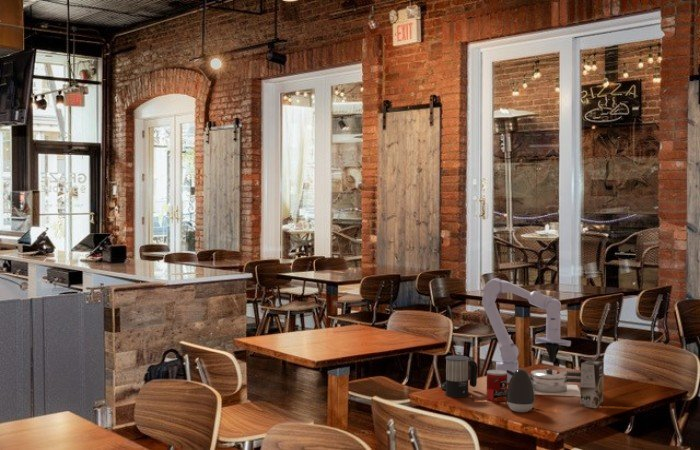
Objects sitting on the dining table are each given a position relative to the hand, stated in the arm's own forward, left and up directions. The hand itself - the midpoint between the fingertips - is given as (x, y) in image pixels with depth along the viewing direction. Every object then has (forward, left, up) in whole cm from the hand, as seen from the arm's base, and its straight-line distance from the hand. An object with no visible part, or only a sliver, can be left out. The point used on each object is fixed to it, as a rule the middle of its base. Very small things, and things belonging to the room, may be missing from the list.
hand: (552, 361), depth 338 cm
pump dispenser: (-15, -42, -11) cm, 46 cm away
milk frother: (-40, -19, -11) cm, 45 cm away
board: (0, -9, -10) cm, 14 cm away
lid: (+2, -9, -4) cm, 10 cm away
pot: (+1, -9, -9) cm, 13 cm away
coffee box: (+12, -28, -11) cm, 32 cm away
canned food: (-23, -28, -11) cm, 38 cm away
